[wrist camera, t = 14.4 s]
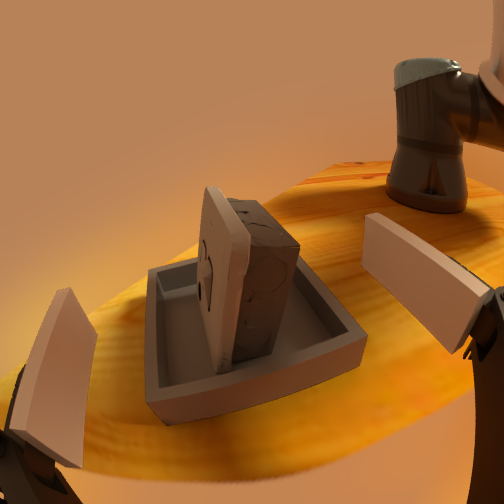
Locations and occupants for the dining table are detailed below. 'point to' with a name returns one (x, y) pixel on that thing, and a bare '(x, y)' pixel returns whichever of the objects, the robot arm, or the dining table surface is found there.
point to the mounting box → (243, 371)
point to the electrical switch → (242, 277)
